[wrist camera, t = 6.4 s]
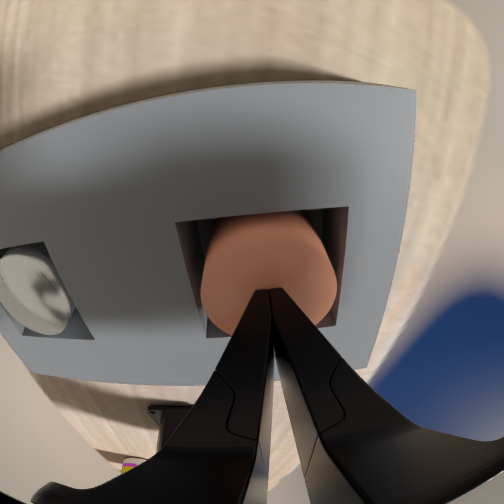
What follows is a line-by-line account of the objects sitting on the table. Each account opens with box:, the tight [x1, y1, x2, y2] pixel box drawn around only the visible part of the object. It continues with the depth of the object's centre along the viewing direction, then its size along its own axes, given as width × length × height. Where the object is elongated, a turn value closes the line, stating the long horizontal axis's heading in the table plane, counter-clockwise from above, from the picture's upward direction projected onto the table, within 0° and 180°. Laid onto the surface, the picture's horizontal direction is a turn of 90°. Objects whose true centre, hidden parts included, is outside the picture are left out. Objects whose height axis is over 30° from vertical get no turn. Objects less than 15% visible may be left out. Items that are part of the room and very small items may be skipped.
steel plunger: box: [0, 241, 76, 335], centre depth 11 cm, size 4×4×3 cm
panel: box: [0, 80, 416, 386], centre depth 11 cm, size 12×19×4 cm, turn 95°
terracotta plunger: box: [201, 210, 337, 335], centre depth 10 cm, size 4×4×3 cm
